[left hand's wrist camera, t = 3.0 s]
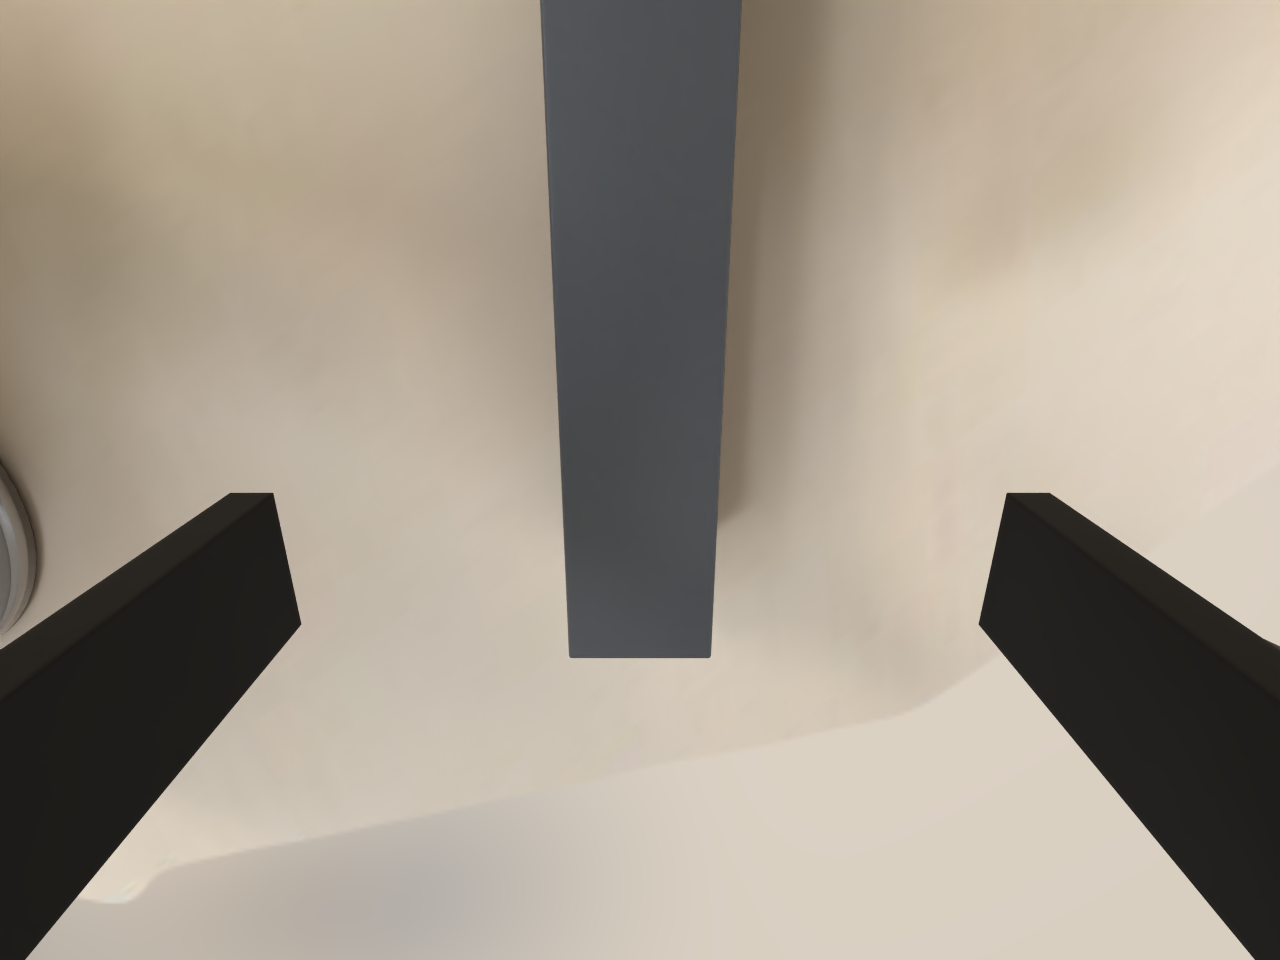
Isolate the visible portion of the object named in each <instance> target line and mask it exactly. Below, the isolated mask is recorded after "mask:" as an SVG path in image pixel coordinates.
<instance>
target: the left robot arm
mask: <svg viewBox="0 0 1280 960" xmlns="http://www.w3.org/2000/svg"><path fill="white" fill-rule="evenodd" d="M35 572H36V550H35V543H34V537H33V532H32V528H31V525H30V521H29V518H28V515H27V513H26V510H25V507H24V505H23V502H22V500H21V498H20V496H19V494H18V492H17V490H16V488H15V486H14V485H13V483H12V481H11V480H10V478H9V476H8V475H7V473H6V471H5V470H4V468H3V467H2V466H1V464H0V636H1V635H2V634H4V633H5V632H6V631H7V630H8V629H9V628H10V627H11V626H12V625H13V624H14V623H15V622H16V621H17V619H18V618H19V617H20V615H21V614H22V612H23V611H24V609H25V607H26V605H27V603H28V601H29V598H30V595H31V592H32V590H33V585H34V580H35ZM300 625H301V621H300V616H299V611H298V607H297V602H296V597H295V593H294V588H293V583H292V579H291V574H290V569H289V565H288V560H287V555H286V551H285V546H284V541H283V537H282V532H281V527H280V523H279V518H278V513H277V509H276V504H275V499H274V495H273V493H230V494H228V495H227V496H225V497H224V498H222V499H221V500H219V501H218V502H216V503H215V504H213V505H212V506H211V507H209V508H208V509H206V510H205V511H203V512H202V513H200V514H199V515H197V516H196V517H194V518H193V519H191V520H190V521H189V522H187V523H186V524H184V525H183V526H181V527H180V528H178V529H177V530H175V531H174V532H172V533H171V534H170V535H168V536H167V537H165V538H164V539H162V540H161V541H159V542H158V543H156V544H155V545H153V546H152V547H150V548H149V549H148V550H146V551H145V552H143V553H142V554H140V555H139V556H137V557H136V558H134V559H133V560H131V561H130V562H128V563H127V564H126V565H124V566H123V567H121V568H120V569H118V570H117V571H115V572H114V573H112V574H111V575H109V576H108V577H107V578H105V579H104V580H102V581H101V582H99V583H98V584H96V585H95V586H93V587H92V588H90V589H89V590H87V591H86V592H85V593H83V594H82V595H80V596H79V597H77V598H76V599H74V600H73V601H71V602H70V603H68V604H67V605H66V606H64V607H63V608H61V609H60V610H58V611H57V612H55V613H54V614H52V615H51V616H49V617H48V618H46V619H45V620H44V621H42V622H41V623H39V624H38V625H36V626H35V627H33V628H32V629H30V630H29V631H27V632H26V633H25V634H23V635H22V636H20V637H19V638H17V639H16V640H14V641H13V642H11V643H10V644H8V645H7V646H5V647H4V648H2V649H0V960H25V959H26V958H27V957H28V956H29V954H30V953H31V952H32V951H33V949H34V948H35V947H36V946H37V945H38V943H39V942H40V941H41V940H42V939H43V937H44V936H45V935H46V934H47V932H48V931H49V930H50V929H51V928H52V926H53V925H54V924H55V923H56V921H57V920H58V919H59V918H60V917H61V915H62V914H63V913H64V912H65V911H66V909H67V908H68V907H69V906H70V905H71V903H72V902H73V901H74V900H75V898H76V897H77V896H78V895H79V894H80V892H81V891H82V890H83V889H84V888H85V886H86V885H87V884H88V883H89V881H90V880H91V879H92V878H93V877H94V875H95V874H96V873H97V872H98V871H99V869H100V868H101V867H102V866H103V865H104V863H105V862H106V861H107V860H108V858H109V857H110V856H111V855H112V854H113V852H114V851H115V850H116V849H117V848H118V846H119V845H120V844H121V843H122V841H123V840H124V839H125V838H126V837H127V835H128V834H129V833H130V832H131V831H132V829H133V828H134V827H135V826H136V824H137V823H138V822H139V821H140V820H141V818H142V817H143V816H144V815H145V814H146V812H147V811H148V810H149V809H150V807H151V806H152V805H153V804H154V803H155V801H156V800H157V799H158V798H159V797H160V795H161V794H162V793H163V792H164V790H165V789H166V788H167V787H168V786H169V784H170V783H171V782H172V781H173V780H174V778H175V777H176V776H177V775H178V773H179V772H180V771H181V770H182V769H183V767H184V766H185V765H186V764H187V763H188V761H189V760H190V759H191V758H192V756H193V755H194V754H195V753H196V752H197V750H198V749H199V748H200V747H201V746H202V744H203V743H204V742H205V741H206V739H207V738H208V737H209V736H210V735H211V733H212V732H213V731H214V730H215V729H216V727H217V726H218V725H219V724H220V722H221V721H222V720H223V719H224V718H225V716H226V715H227V714H228V713H229V712H230V710H231V709H232V708H233V707H234V705H235V704H236V703H237V702H238V701H239V699H240V698H241V697H242V696H243V695H244V693H245V692H246V691H247V690H248V688H249V687H250V686H251V685H252V684H253V682H254V681H255V680H256V679H257V678H258V676H259V675H260V674H261V673H262V672H263V670H264V669H265V668H266V667H267V665H268V664H269V663H270V662H271V661H272V659H273V658H274V657H275V656H276V655H277V653H278V652H279V651H280V650H281V648H282V647H283V646H284V645H285V644H286V642H287V641H288V640H289V639H290V638H291V636H292V635H293V634H294V633H295V631H296V630H297V629H298V628H299V627H300ZM979 625H980V627H981V628H982V629H983V630H984V631H985V633H986V634H987V635H988V636H989V638H990V639H991V640H992V641H993V642H994V644H995V645H996V646H997V647H998V648H999V650H1000V651H1001V652H1002V653H1003V655H1004V656H1005V657H1006V658H1007V659H1008V661H1009V662H1010V663H1011V664H1012V665H1013V667H1014V668H1015V669H1016V670H1017V671H1018V673H1019V674H1020V675H1021V676H1022V678H1023V679H1024V680H1025V681H1026V682H1027V684H1028V685H1029V686H1030V687H1031V688H1032V690H1033V691H1034V692H1035V693H1036V695H1037V696H1038V697H1039V698H1040V699H1041V701H1042V702H1043V703H1044V704H1045V705H1046V707H1047V708H1048V709H1049V710H1050V712H1051V713H1052V714H1053V715H1054V716H1055V718H1056V719H1057V720H1058V721H1059V722H1060V724H1061V725H1062V726H1063V727H1064V729H1065V730H1066V731H1067V732H1068V733H1069V735H1070V736H1071V737H1072V738H1073V739H1074V741H1075V742H1076V743H1077V744H1078V745H1079V747H1080V748H1081V749H1082V750H1083V752H1084V753H1085V754H1086V755H1087V756H1088V758H1089V759H1090V760H1091V761H1092V763H1093V764H1094V765H1095V766H1096V767H1097V769H1098V770H1099V771H1100V772H1101V773H1102V775H1103V776H1104V777H1105V778H1106V780H1107V781H1108V782H1109V783H1110V784H1111V786H1112V787H1113V788H1114V789H1115V790H1116V792H1117V793H1118V794H1119V795H1120V797H1121V798H1122V799H1123V800H1124V801H1125V803H1126V804H1127V805H1128V806H1129V807H1130V809H1131V810H1132V811H1133V812H1134V814H1135V815H1136V816H1137V817H1138V818H1139V820H1140V821H1141V822H1142V823H1143V824H1144V826H1145V827H1146V828H1147V829H1148V831H1149V832H1150V833H1151V834H1152V835H1153V837H1154V838H1155V839H1156V840H1157V841H1158V843H1159V844H1160V845H1161V846H1162V847H1163V849H1164V850H1165V851H1166V852H1167V854H1168V855H1169V856H1170V857H1171V858H1172V860H1173V861H1174V862H1175V863H1176V865H1177V866H1178V867H1179V868H1180V869H1181V871H1182V872H1183V873H1184V874H1185V875H1186V877H1187V878H1188V879H1189V880H1190V881H1191V883H1192V884H1193V885H1194V886H1195V888H1196V889H1197V890H1198V891H1199V892H1200V894H1201V895H1202V896H1203V897H1204V898H1205V900H1206V901H1207V902H1208V903H1209V905H1210V906H1211V907H1212V908H1213V909H1214V911H1215V912H1216V913H1217V914H1218V915H1219V917H1220V918H1221V919H1222V920H1223V921H1224V923H1225V924H1226V925H1227V926H1228V928H1229V929H1230V930H1231V931H1232V932H1233V934H1234V935H1235V936H1236V937H1237V939H1238V940H1239V941H1240V942H1241V943H1242V945H1243V946H1244V947H1245V948H1246V949H1247V951H1248V952H1249V953H1250V954H1251V956H1252V957H1253V958H1254V959H1255V960H1280V646H1278V645H1276V644H1273V643H1271V642H1269V641H1267V640H1265V639H1263V638H1261V637H1260V636H1258V635H1257V634H1255V633H1254V632H1253V631H1251V630H1250V629H1248V628H1247V627H1245V626H1244V625H1242V624H1241V623H1239V622H1238V621H1236V620H1235V619H1234V618H1232V617H1231V616H1229V615H1228V614H1226V613H1225V612H1223V611H1222V610H1220V609H1219V608H1217V607H1216V606H1214V605H1213V604H1212V603H1210V602H1209V601H1207V600H1206V599H1204V598H1203V597H1201V596H1200V595H1198V594H1197V593H1195V592H1194V591H1193V590H1191V589H1190V588H1188V587H1187V586H1185V585H1184V584H1182V583H1181V582H1179V581H1178V580H1176V579H1175V578H1173V577H1172V576H1170V575H1169V574H1168V573H1166V572H1165V571H1163V570H1162V569H1160V568H1159V567H1157V566H1156V565H1154V564H1153V563H1151V562H1150V561H1149V560H1147V559H1146V558H1144V557H1143V556H1141V555H1140V554H1138V553H1137V552H1135V551H1134V550H1132V549H1131V548H1130V547H1128V546H1127V545H1125V544H1124V543H1122V542H1121V541H1119V540H1118V539H1116V538H1115V537H1113V536H1112V535H1110V534H1109V533H1108V532H1106V531H1105V530H1103V529H1102V528H1100V527H1099V526H1097V525H1096V524H1094V523H1093V522H1091V521H1090V520H1089V519H1087V518H1086V517H1084V516H1083V515H1081V514H1080V513H1078V512H1077V511H1075V510H1074V509H1072V508H1071V507H1069V506H1068V505H1067V504H1065V503H1064V502H1062V501H1061V500H1059V499H1058V498H1056V497H1055V496H1053V495H1052V494H1050V493H1007V495H1006V499H1005V504H1004V509H1003V513H1002V518H1001V523H1000V527H999V532H998V537H997V541H996V546H995V551H994V555H993V560H992V565H991V569H990V574H989V579H988V583H987V588H986V593H985V597H984V602H983V607H982V611H981V616H980V621H979Z"/></svg>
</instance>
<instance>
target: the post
mask: <svg viewBox="0 0 1280 960" xmlns="http://www.w3.org/2000/svg"><path fill="white" fill-rule="evenodd" d="M741 7H742V0H540V8H541V30H542V53H543V75H544V98H545V121H546V143H547V166H548V188H549V211H550V233H551V256H552V279H553V301H554V324H555V346H556V369H557V392H558V414H559V437H560V459H561V482H562V504H563V527H564V550H565V572H566V595H567V617H568V640H569V656H570V658H710V656H711V642H712V621H713V600H714V579H715V558H716V536H717V515H718V494H719V473H720V452H721V431H722V409H723V388H724V367H725V346H726V325H727V304H728V282H729V261H730V240H731V219H732V198H733V176H734V155H735V134H736V113H737V92H738V71H739V49H740V28H741Z"/></svg>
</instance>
